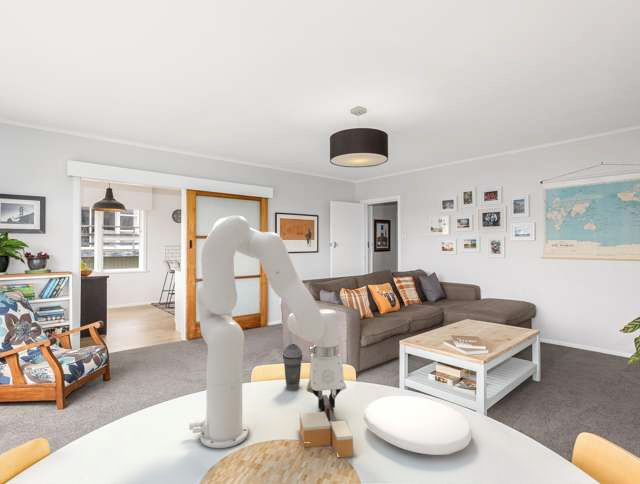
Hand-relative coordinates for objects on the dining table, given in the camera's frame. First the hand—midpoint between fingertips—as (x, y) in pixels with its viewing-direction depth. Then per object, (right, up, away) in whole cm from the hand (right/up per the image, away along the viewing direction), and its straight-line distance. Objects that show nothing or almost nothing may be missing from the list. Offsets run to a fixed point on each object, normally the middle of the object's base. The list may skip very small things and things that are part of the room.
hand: (326, 409), depth 114 cm
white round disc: (+24, -1, -12) cm, 27 cm away
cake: (-4, 0, -15) cm, 15 cm away
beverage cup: (-11, -2, +19) cm, 23 cm away
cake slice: (+3, 0, -20) cm, 20 cm away
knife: (+1, 0, -4) cm, 5 cm away
